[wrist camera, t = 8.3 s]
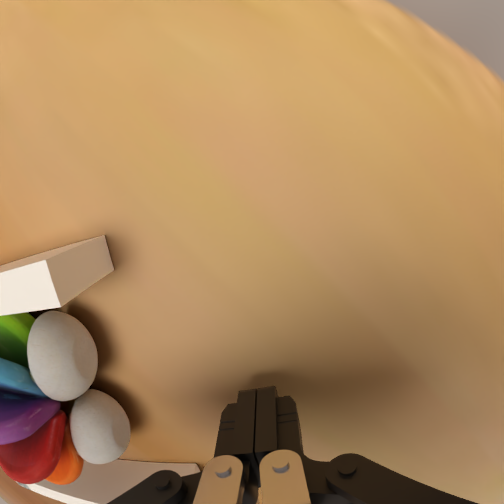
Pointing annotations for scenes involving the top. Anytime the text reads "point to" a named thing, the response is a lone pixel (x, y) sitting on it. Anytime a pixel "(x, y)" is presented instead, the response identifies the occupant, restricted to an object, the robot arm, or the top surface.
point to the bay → (54, 296)
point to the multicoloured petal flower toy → (53, 401)
